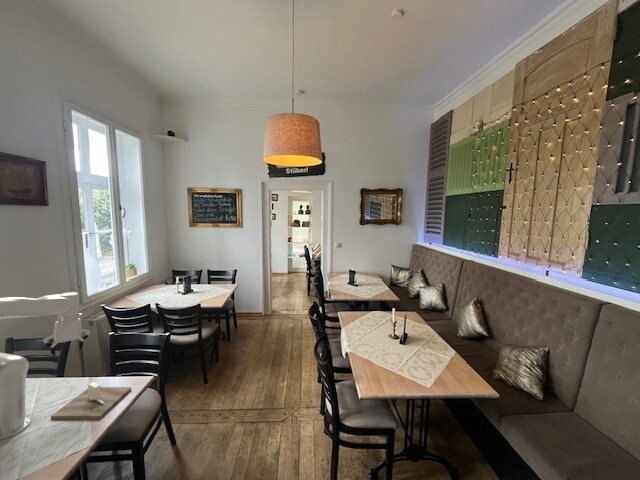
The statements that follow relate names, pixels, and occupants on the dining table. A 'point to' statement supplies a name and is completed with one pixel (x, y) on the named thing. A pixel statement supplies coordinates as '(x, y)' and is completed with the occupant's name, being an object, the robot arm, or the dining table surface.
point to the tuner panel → (92, 404)
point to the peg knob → (94, 392)
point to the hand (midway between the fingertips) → (67, 351)
